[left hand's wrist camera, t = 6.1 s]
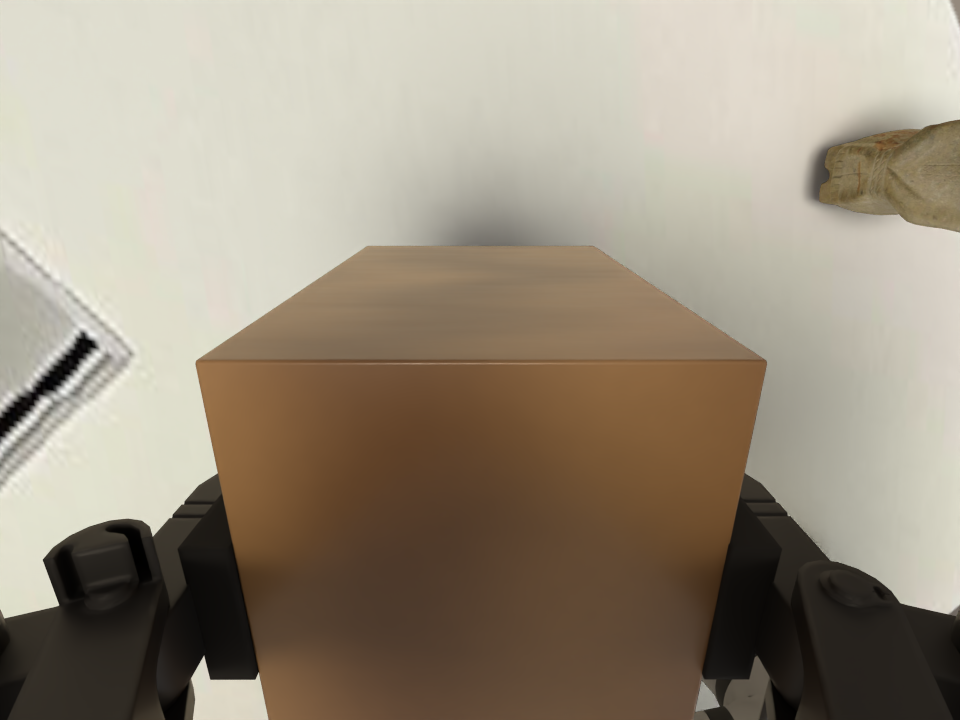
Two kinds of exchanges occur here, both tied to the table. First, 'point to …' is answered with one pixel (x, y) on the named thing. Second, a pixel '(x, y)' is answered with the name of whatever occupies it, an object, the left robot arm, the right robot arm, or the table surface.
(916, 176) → the sculpture
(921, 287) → the table surface
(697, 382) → the wooden block
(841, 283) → the table surface
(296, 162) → the table surface
